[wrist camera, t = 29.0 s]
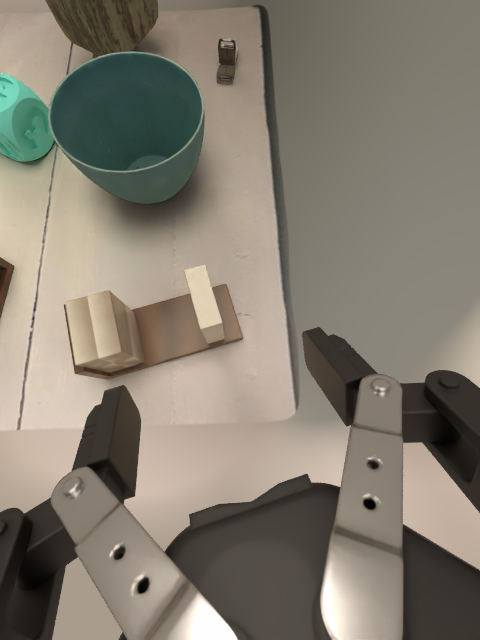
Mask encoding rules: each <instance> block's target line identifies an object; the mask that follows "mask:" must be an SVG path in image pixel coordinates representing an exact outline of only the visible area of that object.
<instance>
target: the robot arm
mask: <svg viewBox="0 0 480 640" xmlns="http://www.w3.org/2000/svg"><path fill="white" fill-rule="evenodd" d="M302 337H303V346H304V355H305V362H306V365H307V368H308V370H309V371H310V373H311V375H312V376H313V377H314V379H315V380H316V382H317V384H318V385H319V387H320V388H321V389H322V391H323V392H324V394H325V395H326V397H327V398H328V400H329V401H330V403H331V404H332V406H333V407H334V409H335V410H336V412H337V413H338V415H339V416H340V418H341V419H342V421H343V422H344V424H345V425H346V426H349V425H351V428H350V434H349V439H348V446H347V451H346V457H345V463H344V469H343V476H342V481H341V487H338V486H334V485H331V484H326V483H311V481H310V479H309V477H308V474H305V475H302V476H299V477H296V478H293V479H290V480H287V481H285V482H282V483H279V484H277V485H276V486H274V487H273V488H271V489H270V490H268V491H267V492H266V493H264V494H263V495H261V496H260V497H258V498H257V499H255V500H253V501H251V502H243V503H228V504H218V505H215V506H212V507H209V508H206V509H203V510H201V511H198V512H195V513H192V514H189V517H190V526H188V527H187V528H186V529H184V530H183V531H182V532H181V533H180V534H179V535H178V536H177V537H176V538H175V539H174V540H173V541H172V542H171V544H170V545H169V546H168V548H167V549H166V551H165V552H164V551H163V550H162V549H161V548H160V546H159V545H158V544H157V543H156V542H155V541H154V539H153V538H152V537H151V536H150V535H149V534H148V533H147V531H146V530H145V529H144V528H143V527H142V526H141V524H140V523H139V522H138V521H137V520H136V518H135V517H134V516H133V515H132V514H131V513H130V511H129V510H128V509H127V508H126V507H125V506H124V500H125V499H128V498H131V497H134V496H135V489H136V477H137V466H138V454H139V442H140V431H141V417H140V413H139V410H138V408H137V406H136V405H135V403H134V401H133V399H132V397H131V395H130V393H129V392H128V390H127V388H126V387H125V386H124V385H122V386H118V387H115V388H112V389H108V390H105V392H104V395H103V399H102V403H101V404H100V405H97V406H95V407H94V408H93V410H92V411H91V413H90V414H89V415H88V417H87V420H86V424H85V427H84V428H85V430H84V431H83V434H82V439H81V441H80V444H79V448H78V451H77V454H76V458H75V461H74V465H73V468H72V471H71V472H70V473H68V474H67V475H66V476H65V477H63V478H62V479H61V480H60V481H59V482H58V484H57V485H56V487H55V488H54V490H53V492H52V496H51V498H49V499H48V500H46V501H45V502H43V503H41V504H40V505H38V506H37V507H35V508H33V509H31V510H30V511H28V512H27V513H25V514H24V513H23V512H22V511H21V510H20V509H18V508H10V509H7V510H4V511H2V512H0V640H52V636H53V631H54V626H55V620H56V615H57V609H58V604H59V599H60V594H61V589H62V583H63V578H64V573H65V567H66V565H67V564H69V563H70V562H71V561H73V560H74V559H76V558H77V557H79V559H80V560H81V562H82V564H83V565H84V567H85V569H86V571H87V572H88V574H89V576H90V577H91V579H92V581H93V582H94V584H95V586H96V587H97V589H98V591H99V592H100V594H101V596H102V598H103V599H104V601H105V603H106V604H107V606H108V608H109V609H110V611H111V613H112V614H113V616H114V618H115V619H116V621H117V623H118V625H119V626H120V628H121V629H122V631H123V632H122V634H121V636H120V638H119V640H480V570H479V569H477V568H475V567H474V566H472V565H470V564H469V563H467V562H465V561H464V560H462V559H460V558H459V557H457V556H455V555H454V554H452V553H450V552H449V551H447V550H445V549H444V548H442V547H440V546H439V545H437V544H435V543H434V542H432V541H430V540H429V539H427V538H425V537H424V536H422V535H420V534H419V533H417V532H415V531H413V530H412V529H410V528H409V527H407V526H405V525H404V524H403V443H412V442H422V443H423V444H424V445H425V446H426V447H427V449H428V450H429V451H430V452H431V453H432V455H433V456H434V457H435V458H436V460H437V461H438V462H439V463H440V464H441V466H442V467H443V468H444V470H445V471H446V472H447V473H448V474H449V476H450V477H451V478H452V479H453V480H454V482H455V483H456V484H457V485H458V487H459V488H460V489H461V490H462V492H463V493H464V494H465V495H466V497H467V498H468V499H469V500H470V501H471V503H472V504H473V505H474V506H475V508H476V509H477V510H478V511H479V513H480V388H479V387H478V386H476V385H475V384H474V383H473V382H471V381H470V380H469V379H467V378H466V377H465V376H463V375H461V374H459V373H456V372H453V371H447V370H438V371H434V372H431V373H429V374H428V375H427V377H426V379H425V383H408V384H402V383H399V382H398V381H397V380H395V379H394V378H392V377H390V376H387V375H383V374H378V373H377V372H376V371H375V370H374V369H372V367H371V366H370V365H369V364H368V363H367V362H366V361H365V360H364V359H363V358H362V357H361V356H360V355H359V354H357V353H356V351H355V350H354V349H353V348H351V346H350V345H349V344H348V343H347V342H346V341H345V340H344V339H342V338H340V337H338V336H336V335H330V336H327V335H326V334H325V332H324V331H323V330H322V329H321V328H320V327H317V328H314V329H311V330H307V331H304V332H303V333H302Z"/></svg>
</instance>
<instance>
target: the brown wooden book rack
mask: <svg viewBox="0 0 480 640" xmlns="http://www.w3.org/2000/svg"><path fill="white" fill-rule="evenodd" d="M212 290H213V293H214V297H215V300H216V303H217V306H218V310H219V313H220V316H221V320H222V324H223V330H224V336H225V339H223V340H220V341H216V342H213V343H210V344H207V342H206V340H205V338H204V336H203V334H202V331H201V329H200V326H199V323H198V319H197V315H196V312H195V308H194V305H193V301H192V298H191V294H188V295H184V296H180V297H177V298H173V299H170V300H166V301H162V302H159V303H155V304H152V305H148V306H144V307H141V308H137V309H134V310H131V309H129V308H128V307H127V306H126V305H125V304H124V303H123V302H122V301H120V300H119V299H118V298H117V297H116V296H115V295H114V294H112V293H111V292H110V291H105V292H101V293H97V294H94V295H90V296H86V297H83V298H79V299H75V300H71V301H68V302H65V304H64V309H65V315H66V321H67V327H68V334H69V340H70V346H71V352H72V358H73V365H74V371H75V374H79V375H85V376H90V377H96V378H102V379H109V378H113V377H116V376H119V375H123V374H126V373H130V372H133V371H136V370H140V369H143V368H146V367H150V366H153V365H157V364H160V363H163V362H167V361H170V360H173V359H177V358H180V357H184V356H187V355H190V354H194V353H197V352H201V351H204V350H207V349H211V348H214V347H217V346H221V345H224V344H228V343H231V342H234V341H238V340H241V339H243V337H242V333H241V330H240V327H239V324H238V321H237V317H236V314H235V311H234V308H233V305H232V301H231V298H230V295H229V292H228V289H227V285H226V284H224V285H220V286H217V287H213V288H212Z"/></svg>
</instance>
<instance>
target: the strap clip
mask: <svg viewBox="0 0 480 640" xmlns="http://www.w3.org/2000/svg"><path fill="white" fill-rule="evenodd" d="M221 41H226V42H233V45H231V44H223V45H222V47H221ZM218 52H219V63H220V64H221V65H220V66H219V68H218V72H217V81H218V82H223V83H232V82H233V80H234V71H235V68H234V67H233V65H235V63H236V60H237V56H238V46H237V45H236V43H235V40H234V39H226V38H220V39H219V44H218ZM219 77H222V78H231V80H222V79H219Z"/></svg>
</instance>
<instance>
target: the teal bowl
mask: <svg viewBox="0 0 480 640" xmlns="http://www.w3.org/2000/svg"><path fill="white" fill-rule="evenodd" d="M48 123H49V128H50V131H51V134H52V136H53V138H54V140H55V141H56V143H57V144H58V146H59V147H60V148H61V150H62V151H63V152H64V154H65V155H66V156H67V157H68V158H69V159H70V161H71V162H72V163H73V164H74V165H75V166H76V167H77V168H78V169H79V170H80V171H81V172H82V173H83V174H84V175H85V176H87V177H88V178H89V179H90V180H91V181H93V182H94V183H95V184H97V185H98V186H100V187H101V188H103V189H104V190H106V191H107V192H109V193H111V194H113V195H115V196H117V197H119V198H121V199H124V200H127V201H130V202H135V203H142V204H153V203H159V202H162V201H165V200H167V199H169V198H171V197H172V196H174V195H175V194H176V193H177V192H178V191H180V190H181V189H182V188H183V186H184V185H185V184H186V183H187V181H188V180H189V178H190V177H191V175H192V173H193V171H194V169H195V166H196V164H197V161H198V158H199V155H200V151H201V146H202V141H203V133H204V101H203V96H202V93H201V90H200V88H199V86H198V84H197V82H196V81H195V79H194V78H193V77H192V76H191V74H190V73H189V72H188V71H187V70H185V69H184V68H183V67H181V66H180V65H179V64H177V63H175V62H173V61H171V60H169V59H167V58H165V57H162V56H159V55H156V54H151V53H145V52H132V51H130V52H117V53H110V54H106V55H102V56H99V57H97V58H94V59H91V60H89V61H87V62H85V63H83V64H82V65H80V66H78V67H77V68H75V69H74V70H73V71H71V72H70V73H69V74H68V75H67V76H66V77H65V78H64V79H63V80H62V81H61V82H60V84H59V85H58V86H57V88H56V90H55V92H54V94H53V96H52V98H51V101H50V104H49V109H48Z"/></svg>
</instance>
